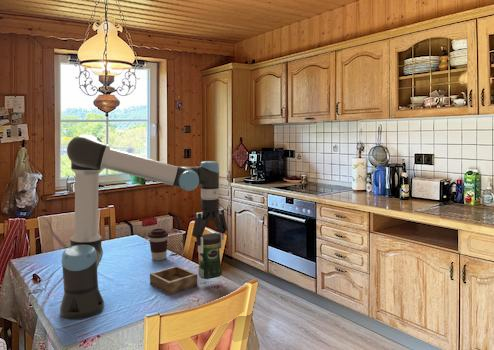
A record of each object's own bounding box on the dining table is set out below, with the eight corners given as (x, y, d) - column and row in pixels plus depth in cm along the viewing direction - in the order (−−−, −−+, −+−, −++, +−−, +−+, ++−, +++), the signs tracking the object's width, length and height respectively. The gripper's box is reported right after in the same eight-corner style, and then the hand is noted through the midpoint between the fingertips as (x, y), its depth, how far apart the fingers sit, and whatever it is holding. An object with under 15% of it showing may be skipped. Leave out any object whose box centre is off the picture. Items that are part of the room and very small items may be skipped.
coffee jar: (216, 271, 183) (215, 230, 181) (224, 277, 176) (223, 234, 174) (196, 275, 179) (195, 233, 176) (203, 281, 172) (202, 237, 170)
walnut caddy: (169, 294, 167) (169, 282, 166) (150, 284, 178) (149, 273, 177) (197, 285, 177) (197, 274, 176) (177, 276, 187) (177, 265, 187)
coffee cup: (146, 257, 215) (145, 229, 213) (164, 254, 220) (163, 226, 218) (153, 262, 207) (152, 233, 205) (172, 259, 212) (171, 230, 210)
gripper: (193, 202, 163) (194, 257, 165) (235, 196, 178) (235, 246, 181) (182, 200, 168) (183, 253, 171) (224, 194, 183) (224, 243, 186)
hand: (210, 250), depth 176 cm, fingers closed on coffee jar, 10 cm apart
